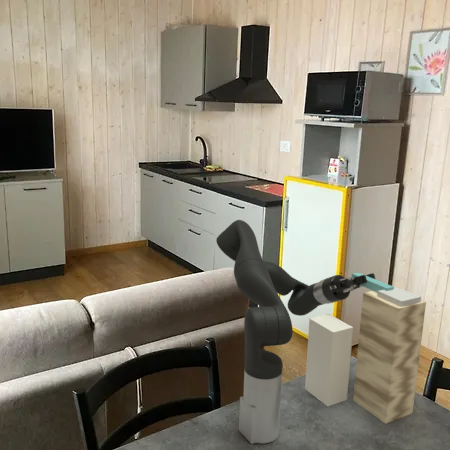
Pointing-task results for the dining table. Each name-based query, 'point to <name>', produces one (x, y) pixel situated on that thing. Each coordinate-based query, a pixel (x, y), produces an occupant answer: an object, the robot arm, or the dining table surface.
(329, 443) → the dining table surface
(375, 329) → the tall wooden block
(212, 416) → the dining table surface
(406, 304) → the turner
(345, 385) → the white block
